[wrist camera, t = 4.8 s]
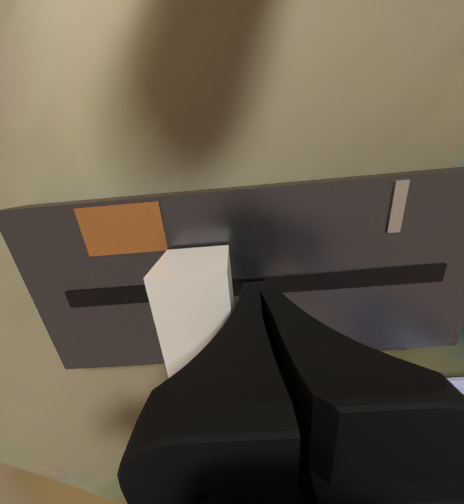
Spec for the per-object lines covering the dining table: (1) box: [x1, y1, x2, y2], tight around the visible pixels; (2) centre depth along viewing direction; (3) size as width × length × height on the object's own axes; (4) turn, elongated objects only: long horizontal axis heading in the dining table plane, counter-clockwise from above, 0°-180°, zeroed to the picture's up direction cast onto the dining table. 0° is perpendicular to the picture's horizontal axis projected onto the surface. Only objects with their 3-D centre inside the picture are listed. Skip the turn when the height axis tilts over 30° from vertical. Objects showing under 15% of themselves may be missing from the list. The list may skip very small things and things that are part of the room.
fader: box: [143, 245, 234, 378], centre depth 10 cm, size 5×3×3 cm, turn 5°
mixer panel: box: [0, 167, 464, 369], centre depth 12 cm, size 10×24×2 cm, turn 95°
